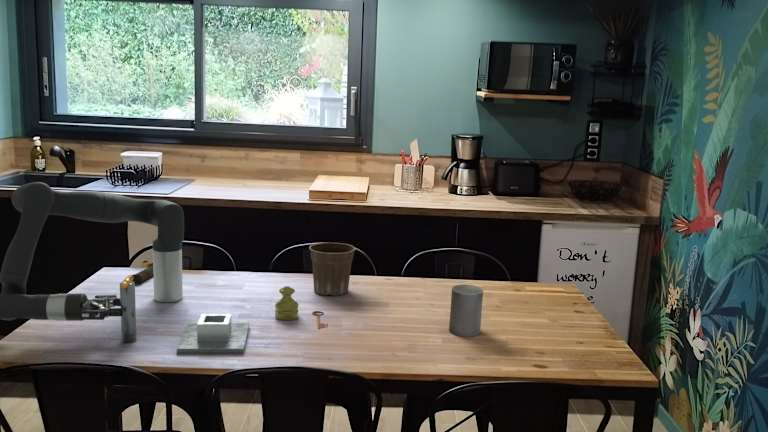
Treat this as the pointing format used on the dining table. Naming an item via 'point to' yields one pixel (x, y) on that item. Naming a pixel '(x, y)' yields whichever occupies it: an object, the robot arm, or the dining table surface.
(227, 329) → the candle holder
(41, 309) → the robot arm
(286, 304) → the green scale weight
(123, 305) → the silver grey upright block
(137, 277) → the hand tool
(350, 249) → the plant pot
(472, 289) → the pillar candle
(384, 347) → the dining table surface
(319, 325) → the key
